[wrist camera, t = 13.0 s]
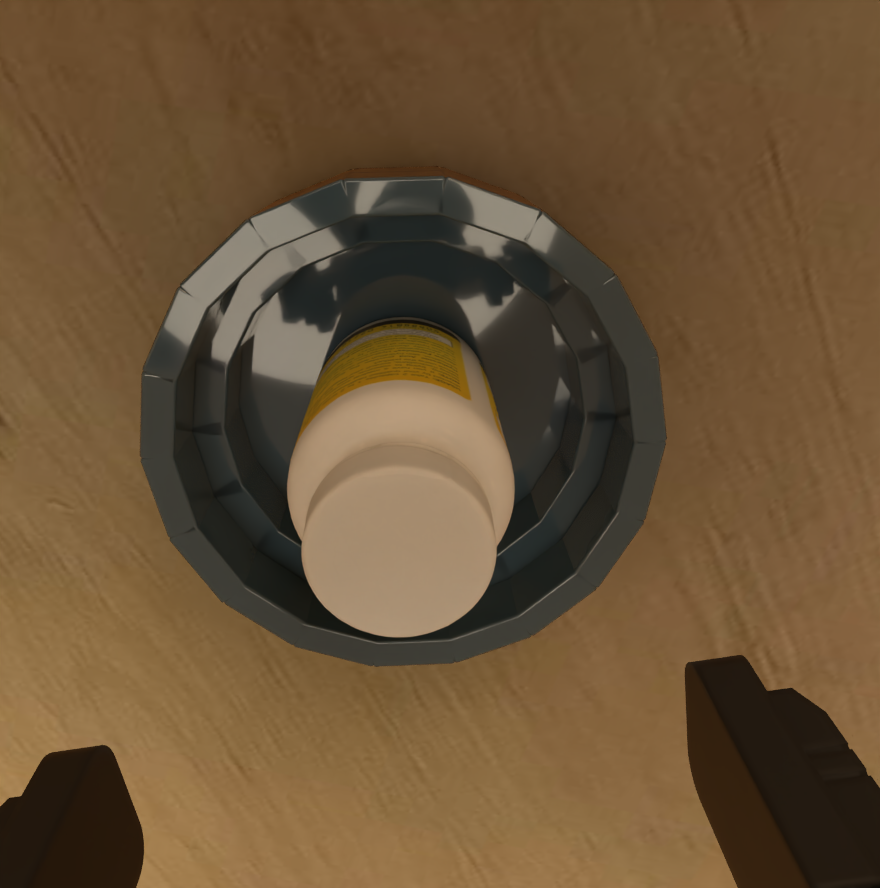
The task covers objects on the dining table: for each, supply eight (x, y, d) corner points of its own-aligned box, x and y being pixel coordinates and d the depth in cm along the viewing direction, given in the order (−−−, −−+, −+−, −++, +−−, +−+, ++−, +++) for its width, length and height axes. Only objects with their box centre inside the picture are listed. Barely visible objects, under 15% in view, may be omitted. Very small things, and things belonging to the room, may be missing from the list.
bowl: (154, 171, 24) (91, 184, 19) (636, 159, 24) (691, 169, 19) (213, 585, 29) (176, 675, 24) (610, 570, 29) (648, 656, 24)
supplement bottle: (279, 389, 25) (207, 541, 16) (414, 277, 24) (417, 372, 15) (393, 509, 27) (385, 708, 18) (524, 409, 26) (587, 567, 17)
